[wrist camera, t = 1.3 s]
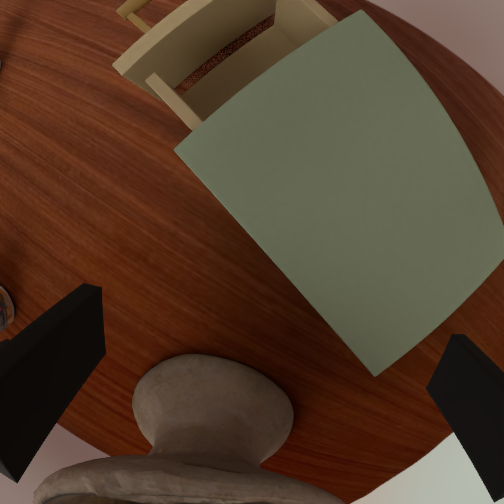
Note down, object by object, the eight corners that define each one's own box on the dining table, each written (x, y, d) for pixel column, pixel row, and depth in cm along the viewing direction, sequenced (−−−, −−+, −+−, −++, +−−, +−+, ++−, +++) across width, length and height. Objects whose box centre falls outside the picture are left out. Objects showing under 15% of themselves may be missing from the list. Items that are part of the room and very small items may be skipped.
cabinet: (204, 157, 24) (172, 149, 15) (327, 59, 21) (361, 8, 12) (342, 315, 27) (374, 377, 18) (446, 223, 25) (512, 249, 15)
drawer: (113, 52, 20) (68, 21, 13) (219, -30, 18) (209, -81, 11) (293, 248, 25) (308, 282, 17) (402, 155, 22) (455, 153, 15)
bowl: (301, 476, 34) (313, 592, 15) (129, 457, 34) (90, 562, 15) (347, 329, 28) (431, 510, 8) (94, 304, 28) (-34, 436, 8)
